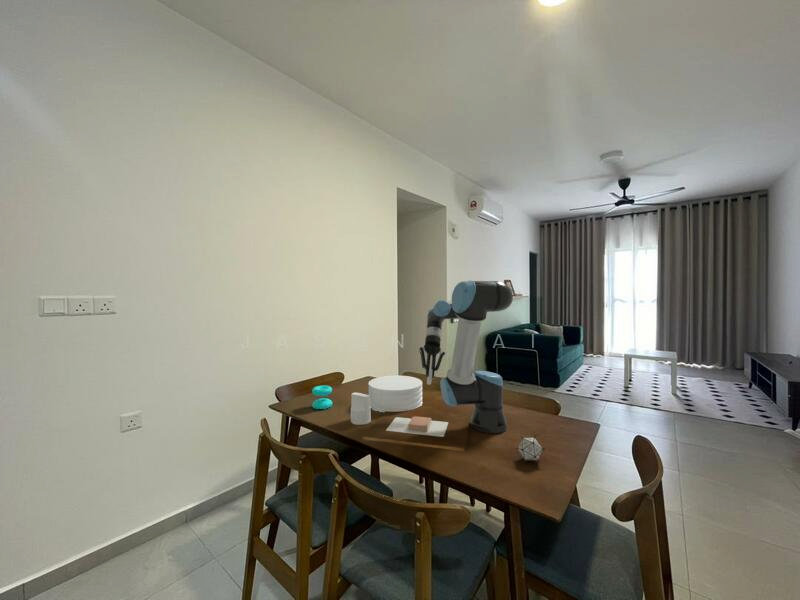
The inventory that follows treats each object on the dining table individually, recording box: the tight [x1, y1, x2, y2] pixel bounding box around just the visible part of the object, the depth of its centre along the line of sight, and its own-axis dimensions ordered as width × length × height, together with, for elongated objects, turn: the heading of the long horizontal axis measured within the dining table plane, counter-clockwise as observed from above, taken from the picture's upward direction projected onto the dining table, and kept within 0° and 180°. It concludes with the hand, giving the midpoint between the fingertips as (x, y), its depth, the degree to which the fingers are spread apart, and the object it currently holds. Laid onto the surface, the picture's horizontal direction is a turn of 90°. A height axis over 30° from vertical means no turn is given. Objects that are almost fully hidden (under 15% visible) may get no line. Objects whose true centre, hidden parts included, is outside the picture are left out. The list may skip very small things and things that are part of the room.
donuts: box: [311, 385, 333, 410], centre depth 168 cm, size 10×10×10 cm
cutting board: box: [385, 416, 449, 438], centre depth 140 cm, size 24×15×1 cm, turn 74°
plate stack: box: [368, 375, 423, 414], centre depth 172 cm, size 28×28×12 cm
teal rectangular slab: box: [408, 415, 432, 432], centre depth 140 cm, size 8×2×9 cm
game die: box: [514, 434, 546, 463], centre depth 113 cm, size 9×8×10 cm
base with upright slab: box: [350, 392, 372, 426], centre depth 150 cm, size 9×9×12 cm
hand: (429, 383), depth 152 cm, fingers closed
